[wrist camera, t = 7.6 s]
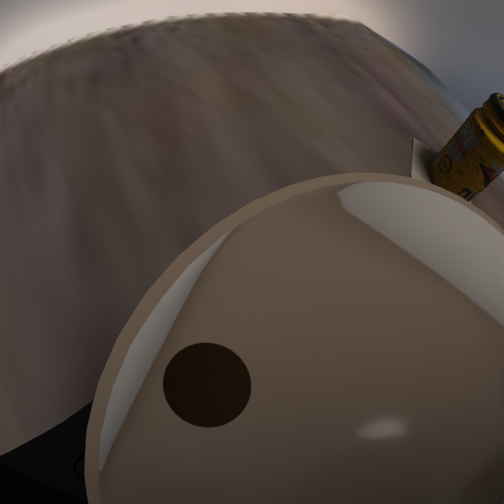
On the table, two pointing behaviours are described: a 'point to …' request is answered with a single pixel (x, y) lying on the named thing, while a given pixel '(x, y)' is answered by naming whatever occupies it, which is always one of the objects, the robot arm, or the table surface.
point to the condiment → (466, 153)
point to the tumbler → (314, 357)
